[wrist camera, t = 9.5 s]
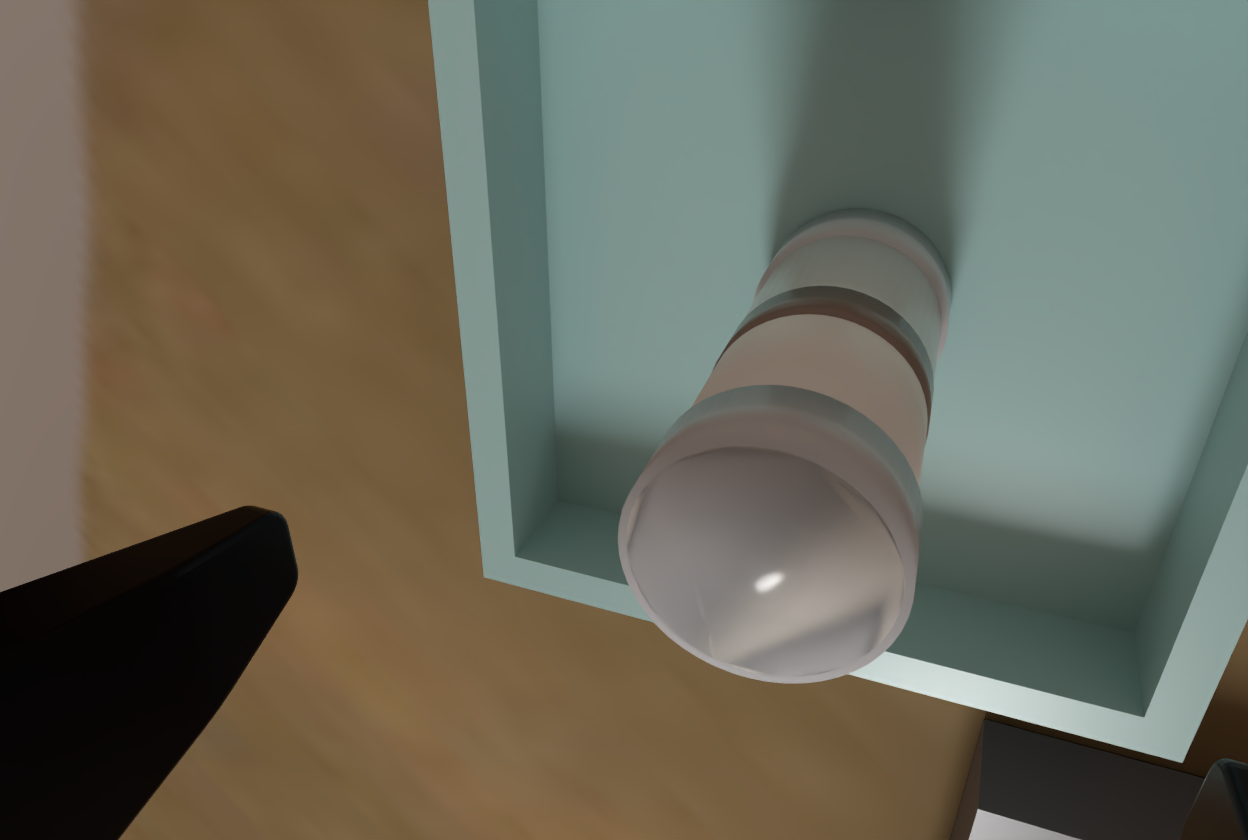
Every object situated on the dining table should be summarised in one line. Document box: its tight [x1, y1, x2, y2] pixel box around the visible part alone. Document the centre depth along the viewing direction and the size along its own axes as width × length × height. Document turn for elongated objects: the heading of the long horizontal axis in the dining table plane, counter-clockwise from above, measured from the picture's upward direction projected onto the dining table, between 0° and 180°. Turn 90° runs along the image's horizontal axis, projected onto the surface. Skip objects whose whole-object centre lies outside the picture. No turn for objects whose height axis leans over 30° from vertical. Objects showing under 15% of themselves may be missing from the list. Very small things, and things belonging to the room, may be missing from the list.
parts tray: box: [428, 0, 1248, 763], centre depth 16 cm, size 14×14×3 cm
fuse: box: [618, 208, 951, 683], centre depth 13 cm, size 3×3×8 cm
